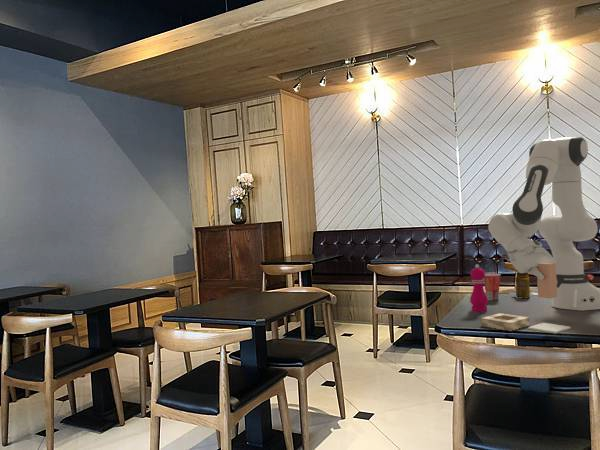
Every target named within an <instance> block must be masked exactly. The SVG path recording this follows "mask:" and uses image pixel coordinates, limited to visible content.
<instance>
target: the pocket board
mask: <svg viewBox="0 0 600 450" xmlns="http://www.w3.org/2000/svg"><path fill="white" fill-rule="evenodd" d="M530 324H531V323H530V316H523V315H515V314H509V313H501V312H499V313H495V314H492V315H488V316H485V317H481V318H480V326H481V327H484V328H485V327H486V328H489V327H490V329H495V328H496V330H501V329H502V330H503V331H506V330H508V332H513V331H516V330H519V328H520V329H523V328H526V327H530ZM522 327H523V328H522ZM515 329H516V330H515ZM502 330H501V331H502ZM512 330H513V331H512Z"/></svg>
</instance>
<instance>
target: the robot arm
mask: <svg viewBox="0 0 600 450" xmlns="http://www.w3.org/2000/svg"><path fill="white" fill-rule="evenodd" d="M588 152H589V146H588V143H587V140H585V139H584V137H582V136H571V137H558V138H554V139H543V140H540V141H538V142H535V143H533V145H531V147H530V148H529V153H528V156H529V158H528V162H527V165H526V169H525V179H526V182H525V186H524V188H523V192H522V193H521V195H520V196H519V197H518V198H517V199H516V200H515V201H514V203H513V204H512V207H511V208H512V212H511V213H500V212H499V213H497V214H495V215H494V216H493V217H491V219H490V221H489V222H488V226H487V227H488V228H487V229H488V231H489V233H490V234H491V236H492V237H493V238H494V239H495V241H497V243H498V244H499V245H501V246H502V247H503V249H504V250H505V252H506V253H507V256H508V258H509V262H510V263H511V265H512V267H514V268H515V270H516V272H520V273H527V272H528V273H531V274H532V275H533V276H535V277H538V278H539V279H540V280H544V279H545V278H546V276H545V275H544V274H543V273H541V272H540V271H538V269H537V267H538V263H544V262H545V263H556V279H557V297H554V298H552V302H551V307H553V308H557V309H561V310H570V311H571V310H572V311H578V312H579V311H592V310H593V311H594V310H600V288H599V287H597V286H595V285H593V284H592V283H590V282H589V280H590V281H593V279H594V278H595V277H594V275H592V274H586V273H585V272H584V270H585V269H584V256H583V254H582V252H580V251H579V250H578V249H577V248H576V247H575V245H574V243H573V242H585V241H589V240H592V239H594V238H595V237H596V235H597V233H598V224H597V221H596V220H595V218H593V217H592V216H591V215H590V214H589V212H587V209H586V207H585V204H584V202H583V194H582V193H583V191H582V172H581V171H582V170H581V164H582V163H583V162H584V161H585V160H586V158H587V156H588V154H589V153H588ZM550 184H551V199H552V202H553V204H554V205H556V206H557V207H558V208H559V210H560V212H561V213H560V214H561V215H551V216H547V217H544V218H542V215H543V212H544V206H543V202H542V195H543V192H544V188H545V186H547V185H550ZM537 232H538V233H539V235H540V236H541V237H542V238H543V239H544V240H545V241H546V242H547V244H548V246H549V249H550V251H551V254H552V255H551V254H550V252H549V251H548V250H547V249H545V248H544V247H543V245H542V242H540V241H537V240H534V239H533V240H532V239H531V238H529V237H532V236H533V235H534V234H536V233H537Z"/></svg>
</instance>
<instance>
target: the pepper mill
mask: <svg viewBox="0 0 600 450" xmlns="http://www.w3.org/2000/svg"><path fill="white" fill-rule="evenodd" d="M474 267H475V268H473V269H471V270H470V272H469V273H470V275H469V276H470V277H471V283H472V285H473V287H472V293H471V295H470V299H469V302H470V303H471V305H472V306H471V311H472V312H475V313H484V312H488V306H487V305H488V303H489V300H488V298H487V296H486V291H485V290H484V289H485V288H484V279H483V278H484V277H485V274H486V272H485V270H484V269H483V268H480V264H477V263H476V264H475V266H474Z"/></svg>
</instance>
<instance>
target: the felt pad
mask: <svg viewBox="0 0 600 450" xmlns="http://www.w3.org/2000/svg"><path fill="white" fill-rule="evenodd" d="M527 329H528V330H533V331H538V332H544V333H551V334H559V333H561V332H565V331H567V330H571V329H572V327H571V326H569V325H560V324H556V323H549V322H541V323H538V324H535V325H531V326H527Z"/></svg>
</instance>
